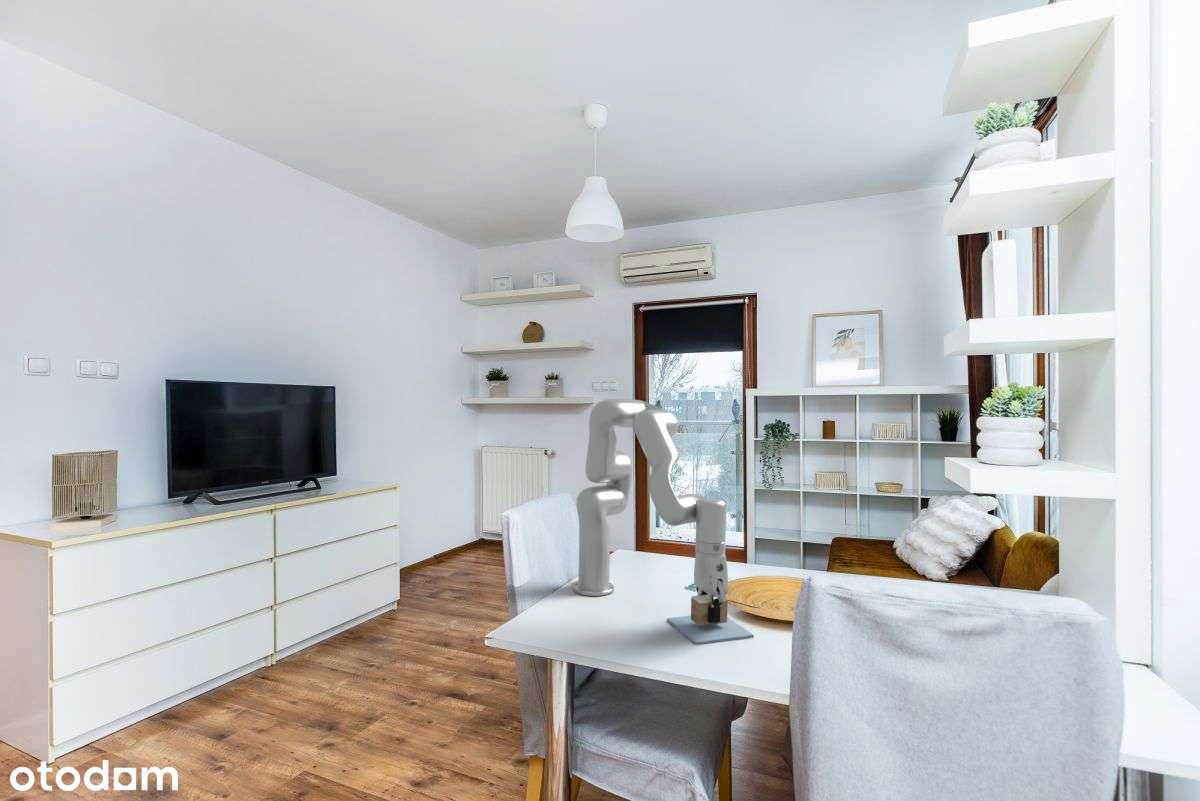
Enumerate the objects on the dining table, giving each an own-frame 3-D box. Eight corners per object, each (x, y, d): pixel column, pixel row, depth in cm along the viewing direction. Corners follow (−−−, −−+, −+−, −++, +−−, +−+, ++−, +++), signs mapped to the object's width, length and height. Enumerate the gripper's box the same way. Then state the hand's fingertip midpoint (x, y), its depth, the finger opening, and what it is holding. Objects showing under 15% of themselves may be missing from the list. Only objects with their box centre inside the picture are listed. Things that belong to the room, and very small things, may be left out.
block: (699, 625, 145) (699, 601, 145) (690, 619, 149) (691, 596, 149) (727, 622, 147) (727, 599, 147) (718, 616, 152) (718, 593, 152)
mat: (667, 620, 153) (667, 618, 153) (720, 614, 158) (720, 612, 158) (696, 644, 138) (696, 642, 138) (753, 637, 143) (753, 634, 143)
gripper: (741, 554, 141) (739, 629, 141) (706, 538, 157) (705, 605, 157) (714, 556, 139) (712, 632, 139) (682, 540, 155) (680, 608, 155)
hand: (708, 617), depth 148 cm, fingers closed on block, 4 cm apart
